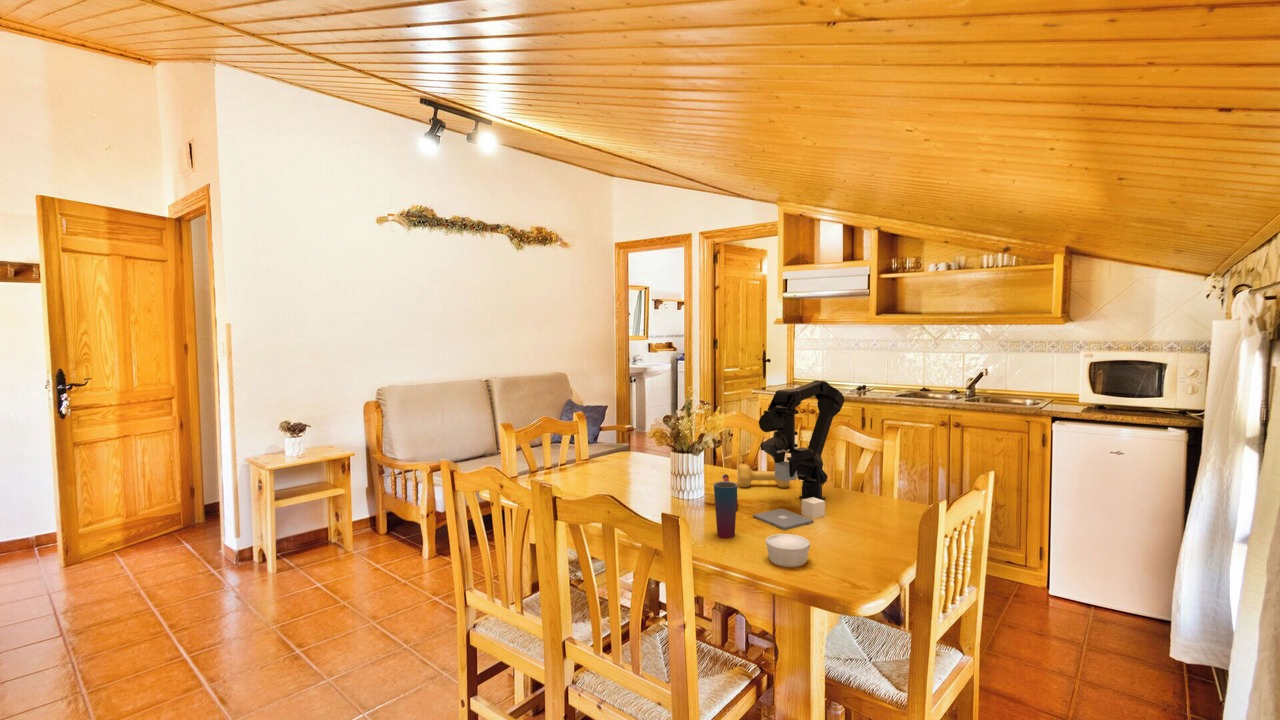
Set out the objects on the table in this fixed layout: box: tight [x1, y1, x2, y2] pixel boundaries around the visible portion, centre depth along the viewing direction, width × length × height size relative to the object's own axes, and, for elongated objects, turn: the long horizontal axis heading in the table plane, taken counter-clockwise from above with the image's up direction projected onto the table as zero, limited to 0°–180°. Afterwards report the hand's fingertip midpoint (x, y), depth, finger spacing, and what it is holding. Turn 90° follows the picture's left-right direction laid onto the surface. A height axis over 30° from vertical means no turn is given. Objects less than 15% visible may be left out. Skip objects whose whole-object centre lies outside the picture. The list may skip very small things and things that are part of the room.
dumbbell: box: [737, 463, 791, 489], centre depth 227 cm, size 19×9×8 cm, turn 83°
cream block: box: [801, 497, 826, 520], centre depth 193 cm, size 5×5×5 cm
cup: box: [713, 480, 739, 539], centre depth 176 cm, size 7×7×15 cm
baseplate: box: [752, 508, 815, 531], centre depth 189 cm, size 12×14×1 cm
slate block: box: [774, 460, 798, 481], centre depth 201 cm, size 5×5×5 cm
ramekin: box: [765, 533, 811, 568], centre depth 158 cm, size 11×11×5 cm
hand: (785, 475), depth 201 cm, fingers closed on slate block, 5 cm apart
